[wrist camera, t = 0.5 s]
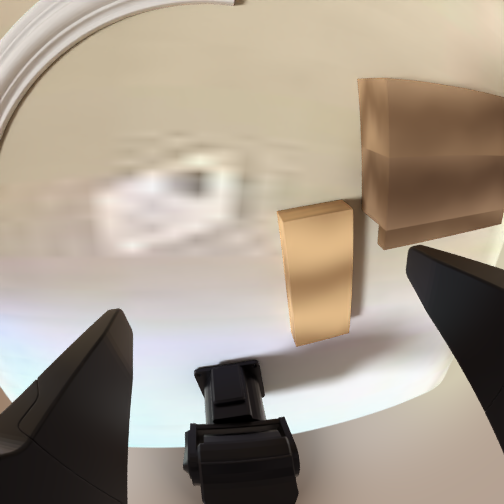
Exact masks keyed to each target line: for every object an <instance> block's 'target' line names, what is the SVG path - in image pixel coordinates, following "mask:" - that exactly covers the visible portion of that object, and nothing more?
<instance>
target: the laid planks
mask: <svg viewBox="0 0 504 504" xmlns="http://www.w3.org/2000/svg"><path fill="white" fill-rule="evenodd" d="M357 80H358V91H359V105H360V121H361V145H362V211H363V212H365V213H366V214H367V215H368V216H369V217H371V218H372V219H373V220H374V221H375V222H376V223H378V224H379V231H378V245H379V246H380V247H381V248H382V249H383V250H387V249H392V248H396V247H401V246H406V245H410V244H415V243H420V242H424V241H429V240H433V239H438V238H442V237H447V236H451V235H456V234H460V233H464V232H469V231H473V230H477V229H481V228H486V227H490V226H494V225H498V224H501V222H502V217H503V212H504V97H500V96H496V95H492V94H488V93H484V92H479V91H475V90H470V89H465V88H460V87H454V86H448V85H442V84H435V83H428V82H420V81H412V80H402V79H390V78H369V79H357Z"/></svg>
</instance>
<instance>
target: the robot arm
mask: <svg viewBox="0 0 504 504" xmlns="http://www.w3.org/2000/svg"><path fill="white" fill-rule="evenodd" d="M406 274H407V277H408V279H409V280H410V282H411V284H412V286H413V288H414V289H415V291H416V293H417V295H418V297H419V299H420V301H421V302H422V304H423V306H424V308H425V310H426V312H427V313H428V315H429V316H430V318H431V319H432V321H433V323H434V324H435V326H436V327H437V329H438V330H439V332H440V333H441V335H442V337H443V338H444V340H445V342H446V343H447V345H448V346H449V348H450V350H451V351H452V353H453V355H454V356H455V358H456V360H457V362H458V363H459V365H460V367H461V368H462V370H463V372H464V374H465V375H466V377H467V379H468V381H469V382H470V384H471V386H472V388H473V390H474V392H475V394H476V396H477V398H478V400H479V401H480V403H481V405H482V407H483V409H484V411H485V414H486V416H487V418H488V420H489V422H490V424H491V426H492V428H493V430H494V433H495V435H496V437H497V439H498V441H499V444H500V446H501V448H502V451H503V453H504V270H503V269H500V268H497V267H494V266H490V265H487V264H484V263H481V262H478V261H474V260H471V259H468V258H465V257H461V256H458V255H455V254H451V253H448V252H444V251H441V250H437V249H434V248H430V247H427V246H423V245H417V246H413V247H410V248H409V250H408V257H407V265H406ZM194 376H195V378H196V380H197V383H198V385H199V387H200V389H201V392H202V394H203V396H204V398H205V414H206V424H196V423H191V424H190V430H189V431H187V432H185V454H184V462H183V469H184V470H185V471H186V472H187V473H188V474H189V475H190V478H191V479H192V482H193V485H194V486H201V493H202V501H203V503H204V504H295V502H296V500H297V497H298V489H297V483H296V477H297V476H298V475H299V471H300V462H299V455H298V451H297V447H296V444H295V442H294V439H293V437H292V434H291V432H290V430H289V427H288V425H287V422H286V420H285V417H279V418H278V419H270V420H266V416H265V411H264V407H263V402H262V398H263V397H264V396H265V393H264V388H263V382H262V377H261V371H260V366H259V362H258V361H257V360H252V361H246V362H240V363H235V364H228V365H222V366H216V367H209V368H202V369H196V370H195V371H194ZM132 382H133V332H132V329H131V327H130V325H129V323H128V321H127V319H126V317H125V314H124V312H123V311H122V310H121V309H119V308H117V309H111V310H108V311H107V312H106V313H104V314H103V315H102V316H101V317H100V318H99V319H98V320H97V321H96V322H95V323H94V324H93V325H92V326H90V327H89V328H88V329H87V330H86V331H85V332H84V333H83V334H82V335H81V336H80V337H79V338H78V339H77V340H76V341H75V342H74V343H73V344H71V345H70V346H69V347H68V348H67V349H66V350H65V351H64V352H63V353H62V354H61V355H60V356H59V357H58V358H57V359H56V360H55V361H54V362H53V363H52V364H51V365H50V366H49V367H48V368H47V369H46V370H45V371H44V372H43V373H42V374H41V375H40V376H39V377H38V380H35V381H34V382H33V383H32V384H31V385H30V386H29V387H28V388H27V389H26V390H25V391H24V392H23V393H22V394H21V395H20V396H19V397H18V398H17V399H16V400H15V401H14V402H13V403H12V404H11V405H10V406H9V407H8V408H6V409H5V410H4V411H3V412H2V413H1V414H0V504H127V462H128V460H127V459H128V436H129V419H130V405H131V394H132Z"/></svg>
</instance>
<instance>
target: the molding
mask: <svg viewBox="0 0 504 504" xmlns="http://www.w3.org/2000/svg"><path fill="white" fill-rule="evenodd" d="M234 2H235V0H40V1H38V2H37V3H36V4H35V5H34V6H33V7H31V8H30V9H29V10H28V11H27V12H26V13H25V14H24V15H23V16H22V17H21V18H20V19H19V20H18V21H17V22H16V23H15V24H14V25H13V26H12V27H11V28H10V30H9V31H8V32H7V33H6V34H5V36H4V37H3V38H2V39H1V40H0V140H1V137H2V135H3V132H4V130H5V128H6V126H7V124H8V122H9V120H10V118H11V116H12V114H13V112H14V110H15V109H16V107H17V106H18V104H19V102H20V101H21V99H22V98H23V96H24V95H25V94H26V92H27V91H28V89H29V88H30V87H31V86H32V84H33V83H34V82H35V81H36V80H37V78H38V77H39V76H40V75H41V74H42V73H43V72H44V71H45V70H46V69H47V68H48V67H49V66H50V65H51V64H52V63H53V62H54V61H55V60H56V59H57V58H59V57H60V56H61V55H62V54H63V53H65V52H66V51H67V50H69V49H70V48H71V47H73V46H74V45H75V44H77V43H78V42H80V41H81V40H83V39H84V38H86V37H88V36H89V35H91V34H93V33H94V32H96V31H98V30H100V29H102V28H104V27H106V26H108V25H110V24H113V23H115V22H117V21H119V20H122V19H124V18H127V17H130V16H133V15H136V14H140V13H143V12H146V11H150V10H154V9H159V8H165V7H171V6H178V5H190V4H219V5H231V6H233V5H234Z"/></svg>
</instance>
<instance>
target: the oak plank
mask: <svg viewBox="0 0 504 504" xmlns="http://www.w3.org/2000/svg"><path fill="white" fill-rule="evenodd" d="M277 215H278V223H279V231H280V239H281V247H282V255H283V263H284V272H285V280H286V289H287V298H288V307H289V316H290V326H291V333H292V336H293V339H294V342H295V344H296V347H298V346H302V345H306V344H310V343H314V342H318V341H321V340H325V339H329V338H333V337H336V336H340V335H343V334H347V333H349V328H350V314H351V296H352V273H353V209H352V208H351V207H350V206H349V205H348V204H347V203H345V202H344V201H343V200H336V201H330V202H325V203H319V204H314V205H308V206H303V207H297V208H292V209H287V210H281V211H277Z"/></svg>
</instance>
